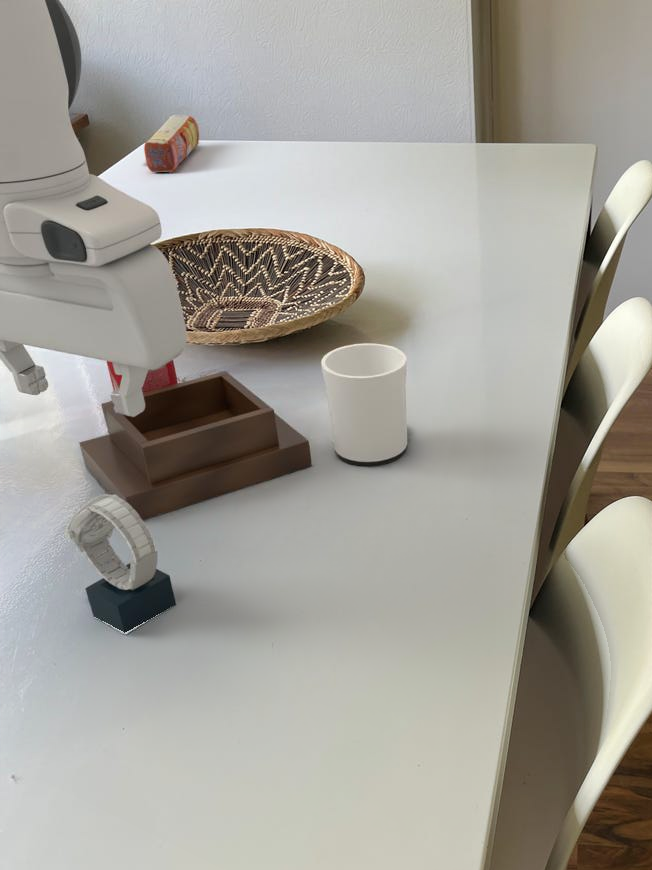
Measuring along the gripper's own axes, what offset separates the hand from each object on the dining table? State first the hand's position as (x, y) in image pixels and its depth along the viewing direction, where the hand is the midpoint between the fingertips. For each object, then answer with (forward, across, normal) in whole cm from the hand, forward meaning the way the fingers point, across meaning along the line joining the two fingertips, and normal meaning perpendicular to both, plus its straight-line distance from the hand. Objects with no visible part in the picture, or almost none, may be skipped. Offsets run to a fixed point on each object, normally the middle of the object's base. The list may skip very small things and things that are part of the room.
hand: (81, 401), depth 78 cm
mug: (+20, +4, +35) cm, 41 cm away
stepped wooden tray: (+20, -11, +23) cm, 32 cm away
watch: (+20, 0, 0) cm, 20 cm away
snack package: (+19, -95, +128) cm, 160 cm away
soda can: (+20, -22, +30) cm, 42 cm away
